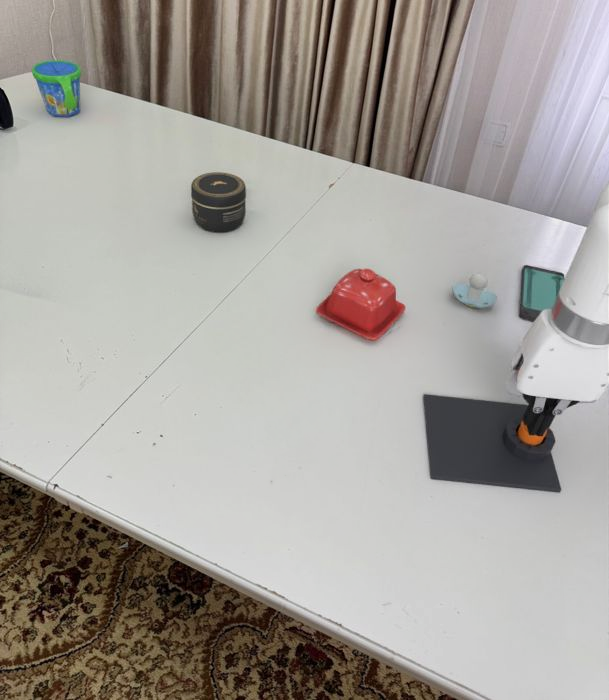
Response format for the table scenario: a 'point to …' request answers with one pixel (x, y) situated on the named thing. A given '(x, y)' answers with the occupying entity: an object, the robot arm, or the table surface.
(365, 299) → the butter dish
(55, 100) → the snack cup
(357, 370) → the table surface
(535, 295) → the smartphone
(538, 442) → the button
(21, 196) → the table surface
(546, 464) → the dark grey flat plate
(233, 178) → the jar
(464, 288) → the pacifier
